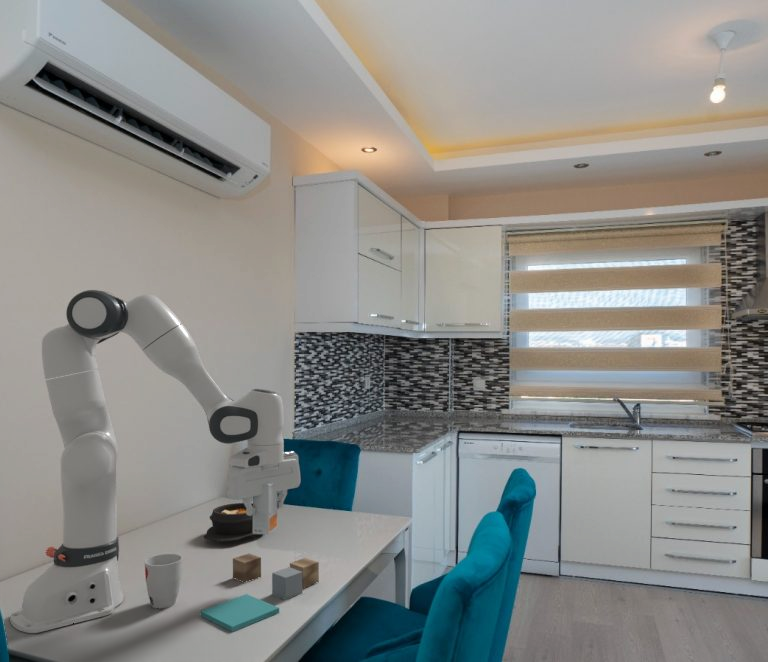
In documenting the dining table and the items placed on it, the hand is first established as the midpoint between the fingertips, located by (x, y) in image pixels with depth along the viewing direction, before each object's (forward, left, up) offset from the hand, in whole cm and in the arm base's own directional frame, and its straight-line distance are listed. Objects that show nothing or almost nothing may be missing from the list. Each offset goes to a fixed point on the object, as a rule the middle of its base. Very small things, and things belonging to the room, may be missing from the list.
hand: (265, 511), depth 147 cm
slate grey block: (0, -8, -18) cm, 20 cm away
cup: (-22, +9, -18) cm, 30 cm away
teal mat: (-14, -9, -18) cm, 24 cm away
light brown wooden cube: (+7, -6, -18) cm, 20 cm away
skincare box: (0, 0, -5) cm, 5 cm away
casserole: (+20, +41, -18) cm, 49 cm away
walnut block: (0, +8, -18) cm, 20 cm away
